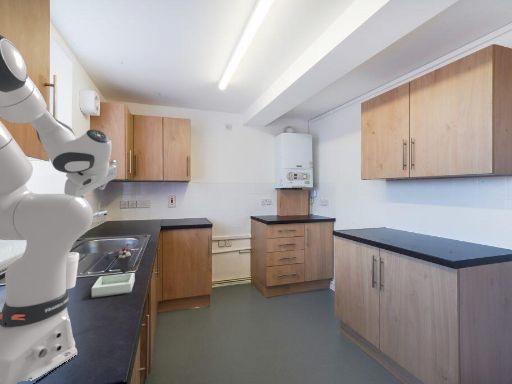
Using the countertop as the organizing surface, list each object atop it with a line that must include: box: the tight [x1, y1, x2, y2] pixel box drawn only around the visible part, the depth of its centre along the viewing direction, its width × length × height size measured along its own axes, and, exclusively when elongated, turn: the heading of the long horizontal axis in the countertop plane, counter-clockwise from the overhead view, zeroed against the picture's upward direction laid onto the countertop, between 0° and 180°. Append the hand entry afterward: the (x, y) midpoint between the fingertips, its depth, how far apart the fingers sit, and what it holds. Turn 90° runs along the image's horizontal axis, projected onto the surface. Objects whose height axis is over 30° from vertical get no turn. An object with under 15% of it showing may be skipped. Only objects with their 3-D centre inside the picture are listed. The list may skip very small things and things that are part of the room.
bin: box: [91, 272, 136, 299], centre depth 104 cm, size 13×13×4 cm
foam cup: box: [66, 251, 80, 291], centre depth 106 cm, size 10×9×13 cm
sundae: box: [114, 243, 133, 274], centre depth 115 cm, size 7×7×15 cm
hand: (91, 193), depth 105 cm, fingers open, 8 cm apart
